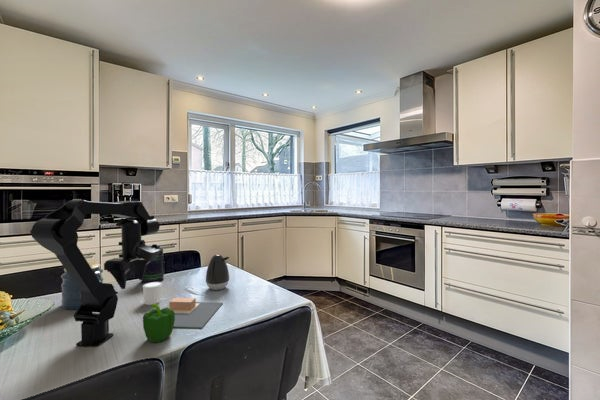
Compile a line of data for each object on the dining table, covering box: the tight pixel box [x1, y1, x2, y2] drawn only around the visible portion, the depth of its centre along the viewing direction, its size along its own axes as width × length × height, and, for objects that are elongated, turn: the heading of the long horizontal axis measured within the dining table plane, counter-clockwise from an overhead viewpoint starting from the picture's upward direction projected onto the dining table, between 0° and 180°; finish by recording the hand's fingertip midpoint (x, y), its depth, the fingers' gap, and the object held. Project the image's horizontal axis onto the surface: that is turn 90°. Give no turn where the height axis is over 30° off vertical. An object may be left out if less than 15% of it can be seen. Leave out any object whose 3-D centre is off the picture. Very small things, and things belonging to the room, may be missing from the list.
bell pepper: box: [142, 303, 175, 343], centre depth 85 cm, size 8×8×10 cm
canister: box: [60, 260, 104, 310], centre depth 111 cm, size 13×13×18 cm
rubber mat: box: [173, 301, 224, 329], centre depth 101 cm, size 20×18×1 cm
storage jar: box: [140, 247, 165, 285], centre depth 138 cm, size 10×10×15 cm
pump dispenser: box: [205, 254, 230, 291], centre depth 128 cm, size 10×10×15 cm
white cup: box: [142, 282, 163, 306], centre depth 112 cm, size 7×7×7 cm
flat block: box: [168, 297, 197, 311], centre depth 105 cm, size 8×4×3 cm, turn 86°
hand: (132, 284), depth 97 cm, fingers open, 9 cm apart
